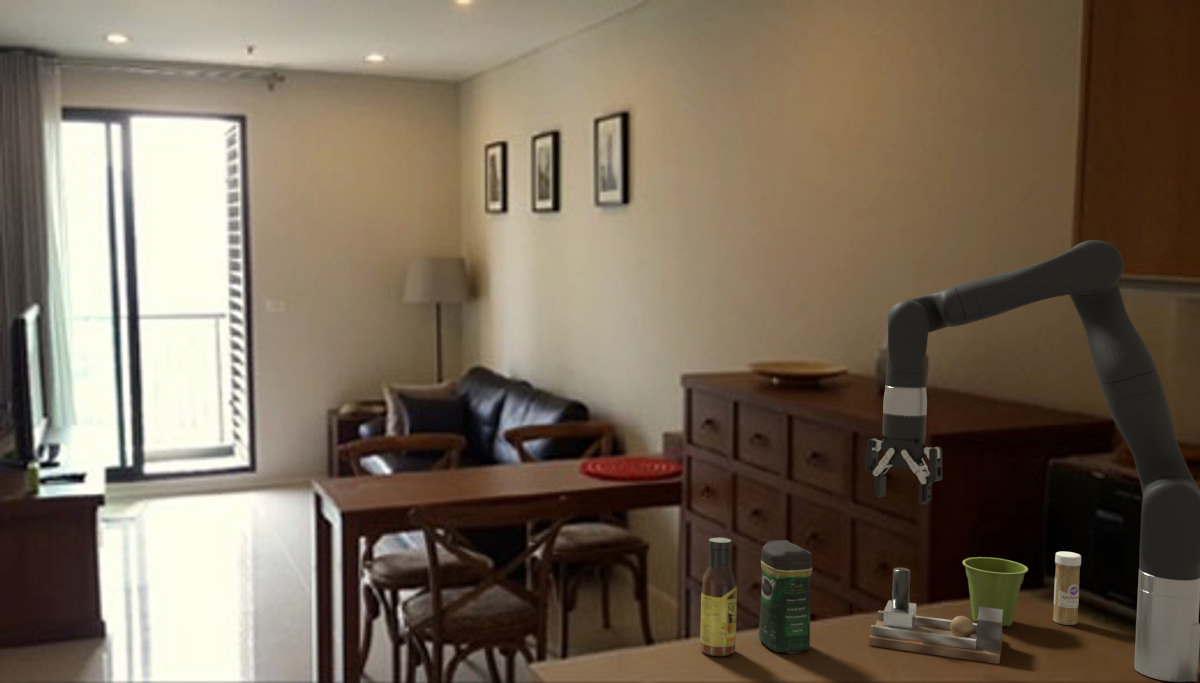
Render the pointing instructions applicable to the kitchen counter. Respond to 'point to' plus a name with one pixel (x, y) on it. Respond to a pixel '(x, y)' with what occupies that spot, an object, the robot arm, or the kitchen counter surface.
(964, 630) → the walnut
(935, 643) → the board
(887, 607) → the sliding jaw
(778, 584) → the coffee jar
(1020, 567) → the plant pot
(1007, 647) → the kitchen counter surface
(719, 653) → the sauce bottle
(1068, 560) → the sprinkles bottle
